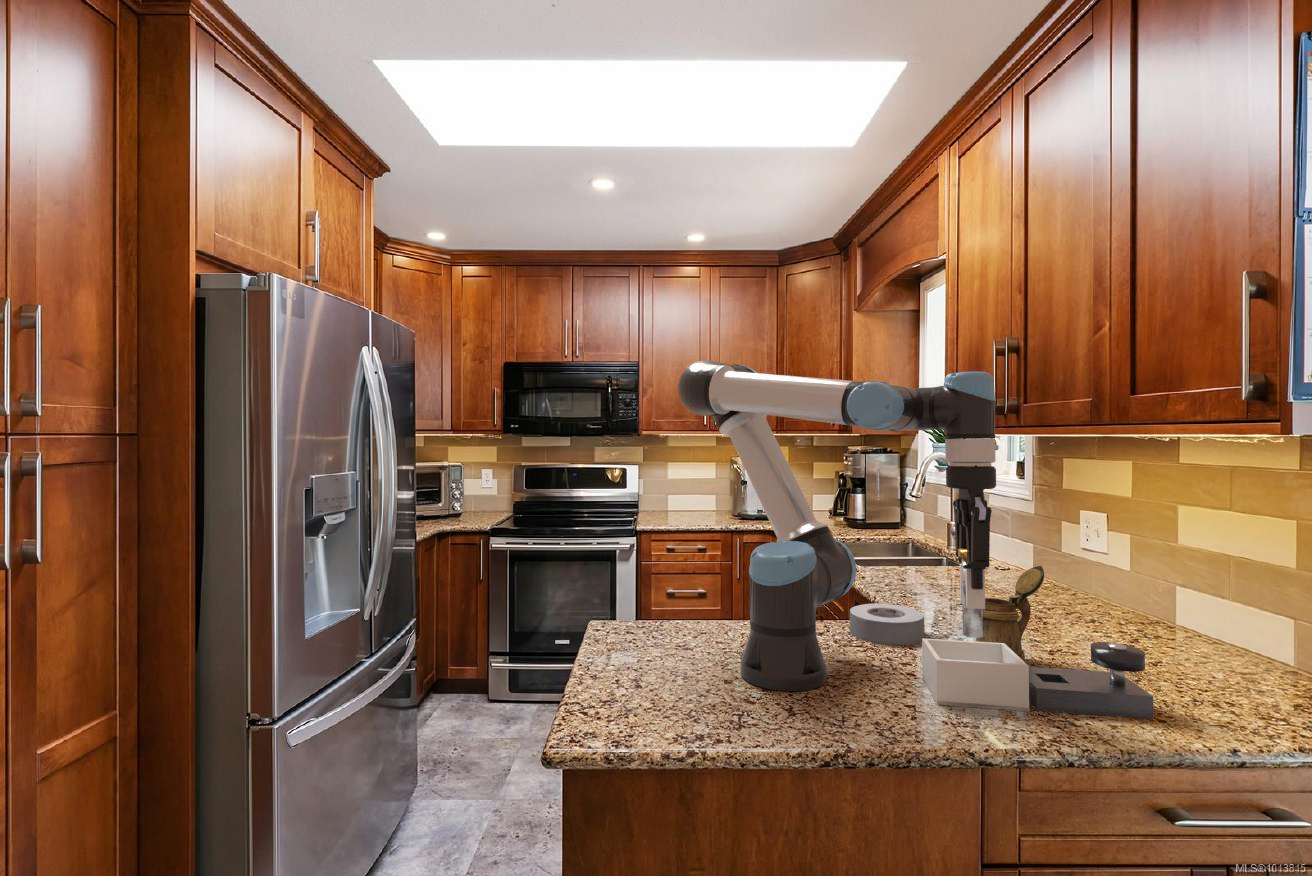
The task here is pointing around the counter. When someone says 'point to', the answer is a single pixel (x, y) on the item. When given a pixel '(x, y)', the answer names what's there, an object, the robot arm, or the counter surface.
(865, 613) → the tape roll
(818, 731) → the counter surface
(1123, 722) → the counter surface
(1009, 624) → the wooden mug
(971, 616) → the pin
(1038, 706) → the block
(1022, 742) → the counter surface
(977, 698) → the parts bin
